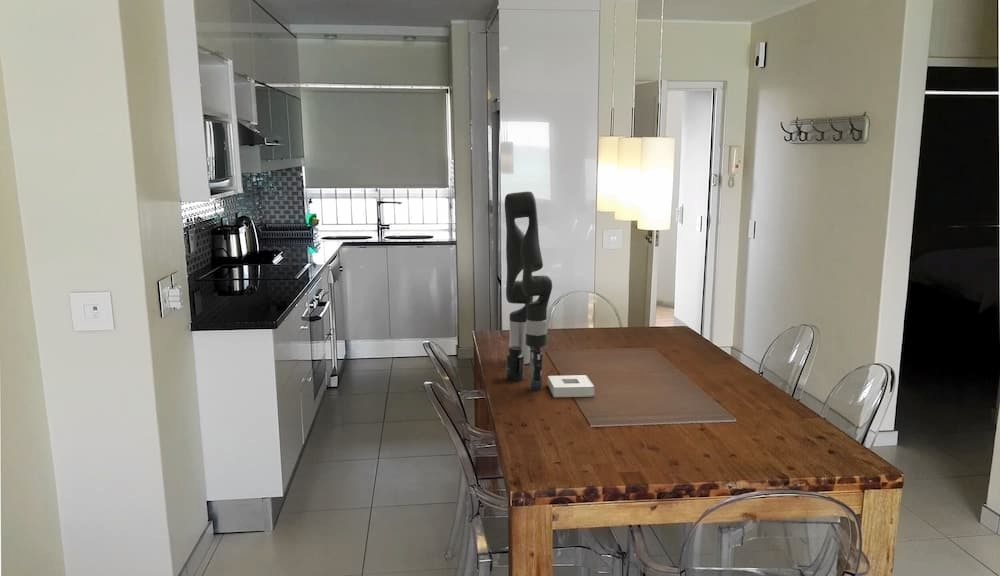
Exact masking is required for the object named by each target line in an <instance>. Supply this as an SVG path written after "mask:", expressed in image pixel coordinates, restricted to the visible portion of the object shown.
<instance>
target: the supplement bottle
mask: <svg viewBox="0 0 1000 576" xmlns="http://www.w3.org/2000/svg"><path fill="white" fill-rule="evenodd" d="M521 353H522V348H521V347H518V346H512V347H508V354H506V357H505V379H506V380H507V381H510V382H521V381H522V380H524V378H525V364H524V356H523V355H522V354H521Z"/></svg>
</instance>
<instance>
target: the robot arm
mask: <svg viewBox="0 0 1000 576" xmlns="http://www.w3.org/2000/svg"><path fill="white" fill-rule="evenodd" d="M504 214H505V226H506V230H505V231H506V240H505V241H506V242H505V243H506V244H505V245H506V247H505V250H506V253H505V254H506V287H505V295H506V296H505V297H506V301H507V303H508V304H514V305H515V304H516V305H517V304H518V305H519V304H524V305H523V307H521V308H520V309H517V310H514V311H512V312H510V313H509V342H508V343H509V347H512V346H518V347H521V348H522V353H521V354H522V355H523V356H524V365H527V364H530V355H531V356H532V364H533V365H534V368H533V369H534V381H540V371H541V370H542V371H543V350H542V349H541V348H542V347H545V346H547V344H548V322H547V318H548V317H547V313H548V304H549V300H550V298H551V294H552V289H553V282H552V279H551V278H550V276H548V275H533V273H535V272H538V271H541V269H543V266H544V264H543V263H544V262H543V258H542V253H541V248H540V247H541V245H540V238H539V237H540V236H539V222H538V221H539V220H538V210H537V203H536V197H535V195H534V193H533V192H532V191H528V190H527V191H519V192H512V193H511V192H510V193H507V194H505V197H504ZM522 218H523V219H524V218H528V226H527V229H526V232H525V233H524V232H523V231H522V230H521V229H520V228H519V226H518V224H517V222H516V219H522ZM521 272H522V280H517V277H518V276H519V274H520V273H521ZM534 297H538V298H537V299H536V300H535V301H534ZM509 347H508V348H509ZM534 360H535V361H534ZM537 364H539V367H536V365H537Z"/></svg>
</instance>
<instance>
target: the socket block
mask: <svg viewBox="0 0 1000 576" xmlns="http://www.w3.org/2000/svg"><path fill="white" fill-rule="evenodd" d="M547 387H548V388H549V390H550V392H551V395H552V396H553V397H554V398H577V397H579V398H581V397H582V398H584V397H585V398H586V397H587V398H588V397H595V385H594V384H593V383H592V381H591V380H590V378H589V377H588V376H587V375H586V374H581V375H580V374H579V375H575V374H574V375H573V374H572V375H571V374H570V375H548V376H547Z"/></svg>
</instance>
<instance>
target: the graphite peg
mask: <svg viewBox="0 0 1000 576" xmlns="http://www.w3.org/2000/svg"><path fill="white" fill-rule="evenodd" d="M534 361H535V360H534ZM536 367H539V364H537V365H536ZM533 368H534V365H533V364H532V356H531V355H530V363H529V390H530V391H534V392H536V391H537V392H539V391H542V390H543V388H542V387H543V369H542V370H541V371H540V381H534V369H533Z"/></svg>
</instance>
